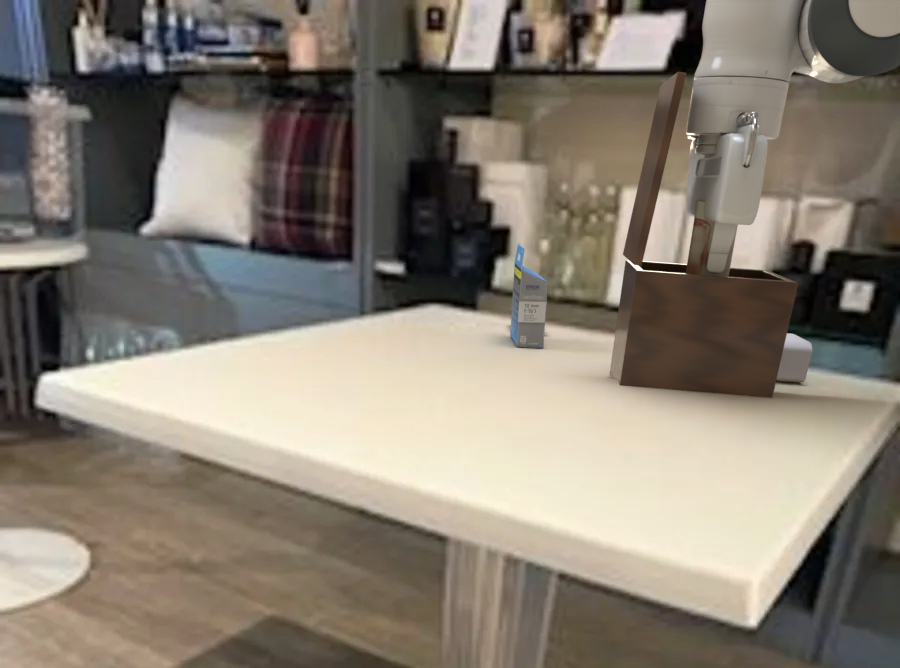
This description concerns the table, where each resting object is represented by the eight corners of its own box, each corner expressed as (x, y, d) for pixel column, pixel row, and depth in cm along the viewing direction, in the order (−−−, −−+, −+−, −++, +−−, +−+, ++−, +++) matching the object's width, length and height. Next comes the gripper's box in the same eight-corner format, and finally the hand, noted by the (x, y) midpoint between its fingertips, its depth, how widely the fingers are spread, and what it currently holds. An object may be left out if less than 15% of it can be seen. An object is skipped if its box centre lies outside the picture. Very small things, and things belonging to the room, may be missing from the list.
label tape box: (544, 348, 116) (554, 249, 111) (513, 347, 116) (522, 247, 110) (535, 337, 124) (545, 244, 118) (507, 335, 124) (515, 242, 118)
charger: (666, 361, 113) (781, 369, 113) (680, 376, 105) (804, 385, 105) (672, 323, 111) (790, 331, 111) (687, 335, 103) (814, 344, 103)
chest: (743, 387, 102) (768, 270, 96) (769, 413, 90) (798, 282, 85) (609, 376, 102) (625, 259, 97) (617, 400, 91) (636, 270, 86)
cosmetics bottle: (680, 300, 95) (697, 198, 91) (722, 304, 94) (741, 201, 90) (679, 306, 90) (696, 199, 86) (722, 310, 90) (742, 202, 85)
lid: (668, 86, 89) (660, 85, 89) (686, 73, 78) (677, 71, 78) (629, 255, 97) (622, 254, 97) (641, 266, 85) (633, 264, 85)
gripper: (795, 111, 75) (761, 281, 81) (746, 124, 93) (720, 262, 99) (721, 107, 75) (692, 276, 82) (686, 120, 94) (665, 258, 100)
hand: (707, 268), depth 91 cm, fingers closed on cosmetics bottle, 5 cm apart
